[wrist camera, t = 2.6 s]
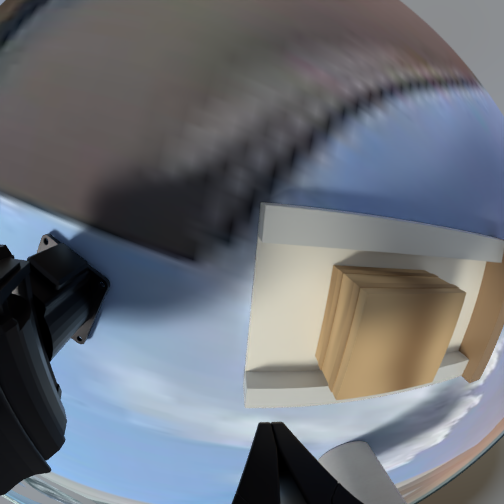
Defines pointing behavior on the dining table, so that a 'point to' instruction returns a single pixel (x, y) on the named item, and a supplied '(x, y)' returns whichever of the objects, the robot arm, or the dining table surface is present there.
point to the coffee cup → (361, 473)
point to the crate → (385, 329)
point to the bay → (362, 255)
